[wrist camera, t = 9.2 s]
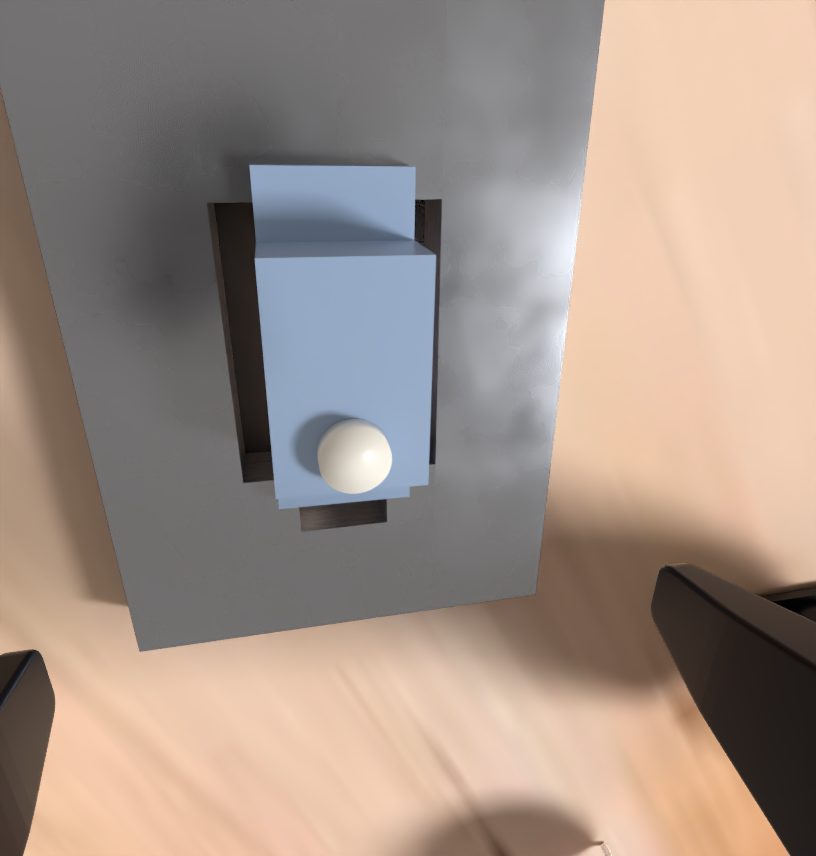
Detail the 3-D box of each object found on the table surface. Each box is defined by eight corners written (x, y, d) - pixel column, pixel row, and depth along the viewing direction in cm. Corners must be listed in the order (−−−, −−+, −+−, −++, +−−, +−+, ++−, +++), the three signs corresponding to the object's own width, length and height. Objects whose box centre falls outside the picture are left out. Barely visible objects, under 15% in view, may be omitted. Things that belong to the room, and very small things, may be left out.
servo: (395, 163, 18) (446, 171, 13) (393, 457, 22) (431, 551, 17) (251, 161, 17) (245, 170, 12) (277, 466, 21) (280, 569, 16)
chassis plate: (-11, -90, 14) (-52, -124, 12) (575, -52, 16) (613, -75, 14) (149, 610, 22) (139, 651, 20) (516, 561, 25) (535, 594, 23)
